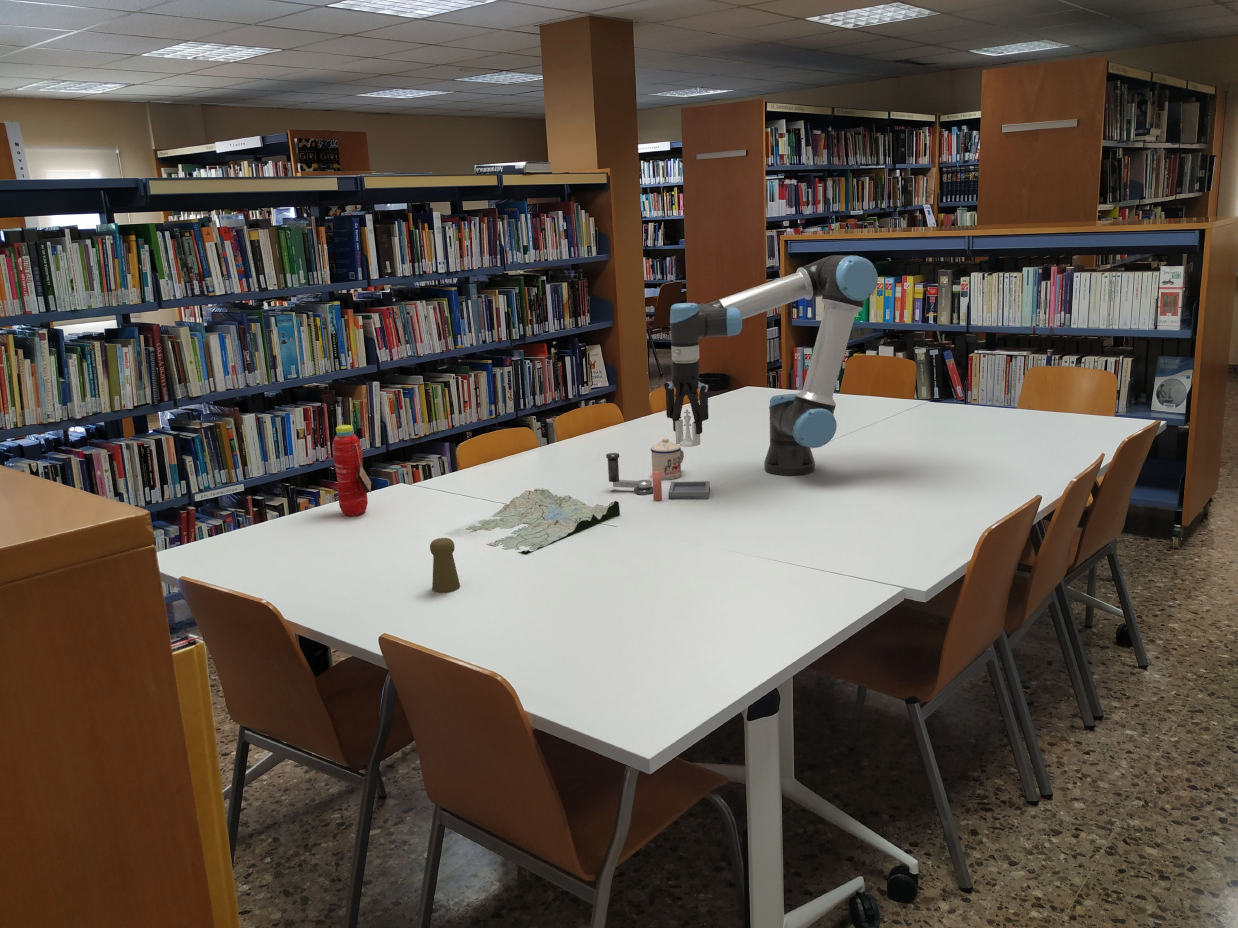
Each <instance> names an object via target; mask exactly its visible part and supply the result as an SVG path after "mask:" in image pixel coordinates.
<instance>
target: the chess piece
mask: <svg viewBox="0 0 1238 928" xmlns="http://www.w3.org/2000/svg"><path fill="white" fill-rule="evenodd" d="M683 414H685V415H684V416H683V421H684V422H685V424H684V423H683V427H685V433H684V434H685V436H684V438H683V441H681V442H680V444H679V446H680V447H682V448H683V447H684V448H689V447H691V448H692V447H694V446H693V437H692V436H691V429H690V427H691V426H692V423H690V422H691V419H692V418H691V417H692V416H691V415H690V414H691V411H689V409H685V411H683Z"/></svg>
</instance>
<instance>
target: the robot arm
mask: <svg viewBox="0 0 1238 928" xmlns="http://www.w3.org/2000/svg"><path fill="white" fill-rule="evenodd" d="M878 281H879V277H878V272H877V270H876V267H875V266H874V264H873V263H872V262H871V261H870V260H869V259H867V258H865V257H862V256H859V255H841V254H839V255H838V254H837V255H835V254H834V255H830V256H826V257H823V258H822V259H821V258H820V259H819V260H816V261H814V262H811V263H809V264H806V265H803V266H801V267H798V268H797V270H796V272H795V273H792V274H788V275H786V276H783V277H780V278H777V279H774V280H772V281H769V282H766V283H762V284H760V285H757V286H754V287H751V288H748V289H745V290H743V291H740V292H737V293H734V294H732V295H728V296H725V297H723V298H720V299H717V300H715V301H711V302H708V303H700V304H697V303H695V302H683V303H681V302H679V303H674V304H672V305H671V306H670V312H669V313H670V315H669V323H670V326H669V327H670V338H671V339H670V340H671V342H670V343H671V345H670V346H671V348H670V349H671V360H672V361H673V362H672V363H671V374H672V376H673V377H672V380H671V381H668V382H664V383H663V387H664V390H665V405H666V407H665V408H666V409H665V410H666V411H665V412H666V414H665V415H666V418H668V419H671V420H672V429H673V430H672V431H673V432H675V444H678V445H680V442H681V441H684V419H682V418H683V417H682V416H681V415H682V410H683V405H684V400H685V396H687V399H688V400H689V404H690V408H691V412H692V416H693V419H694V421H693V422H692V423H691V426H692V427H691V428H692V429H691V430H692V440H693V446H692V447H697V446H700V445H701V434H703V422H705V421H707V420H709V390H710V384H705V383H702V382H701V379H700V372H701V371H700V370H701V369H700V368H701V367H700V362H699V359H700V341H699V340H700V339H704V338H713V337H717V338H718V337H731V336H737V335H739V334H740V333H741V332H742V328H743V320H744V319H747V318H751V317H753V316H756V315H758V314H761V313H762V314H763V313H764V312H767V311H770V310H773V309H776V308H778V307H781V306H785V305H787V304H790V303H793V302H795V301H799V300H802V299H806V300H808V301H809V300H813V299H815V298H819V297H821V302H822V304H823V305H824V310H823V314H822V318H821V321H820V326H819V329H818V332H817V335H816V338H815V339H816V340H815V343H814V347H813V351H812V354H811V358H810V362H809V366H808V368H807V372H806V377H805V381H804V384H803V387H802V390H800V391H799V392H797V393H786V394H785V393H783V394H776V395H773V396H771V398H770V399H769V407H768V409H769V447H768V450H767V453H766V456H765V459H764V462H763V463H764V464H763V465H764V467H763V468H764V469H763V470H764V471H765V472H767V473H770V474H772V475H779V476H781V475H782V476H799V475H806V474H810V473H813V472H815V470H816V461H815V458H814V454H813V452H812V449H816V448H821V447H823V446H825V445H826V444H828V443H830V441H832V439H833V437H834V436H835V434H836V432H837V426H838V425H837V419H836V417H835V415H834V413H835V411H836V406H837V404H836V402H835V399H834V392H835V390H836V389H835V388H836V385H837V382H838V378H839V375H840V370H841V369H842V364H843V361H844V357H845V353H846V350H847V347H848V342H849V339H850V335H851V332H852V329H853V325H854V322H855V317H856V316H857V314H858V313H859V312H861V311H863V309H864V306H865V302H866V299H868V298H869V297H871V296H872V295H873V294H874V293H875V290H876V289H877V286H878ZM698 391H699V393H698Z"/></svg>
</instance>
